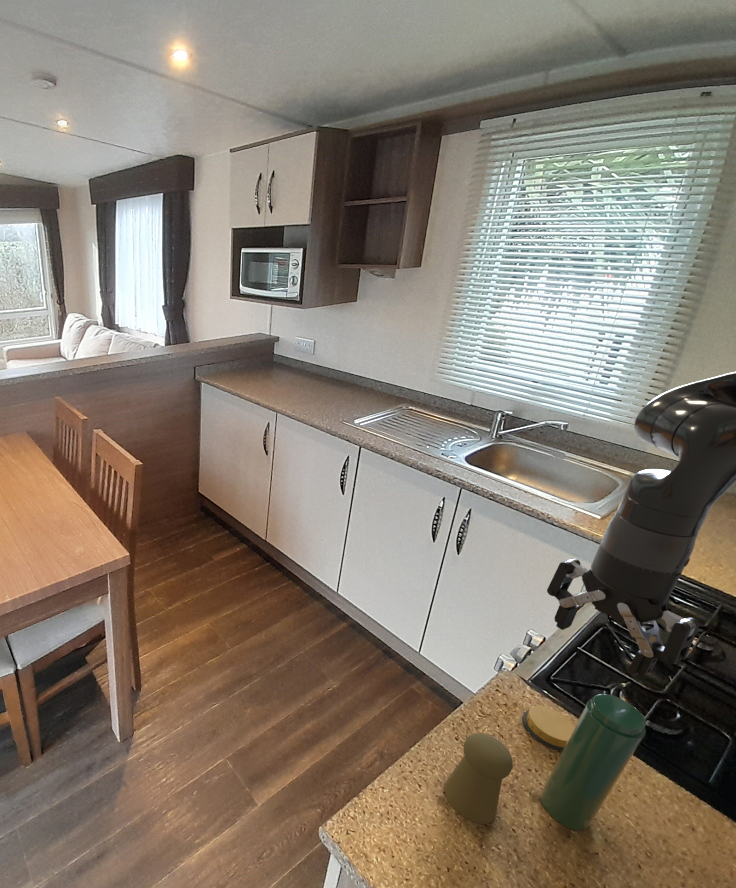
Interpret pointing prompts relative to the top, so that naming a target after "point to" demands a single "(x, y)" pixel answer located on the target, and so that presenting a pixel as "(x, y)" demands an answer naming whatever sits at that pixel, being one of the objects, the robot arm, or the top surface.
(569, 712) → the top surface
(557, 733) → the jar lid
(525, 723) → the coaster
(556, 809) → the cylinder
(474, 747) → the cork
